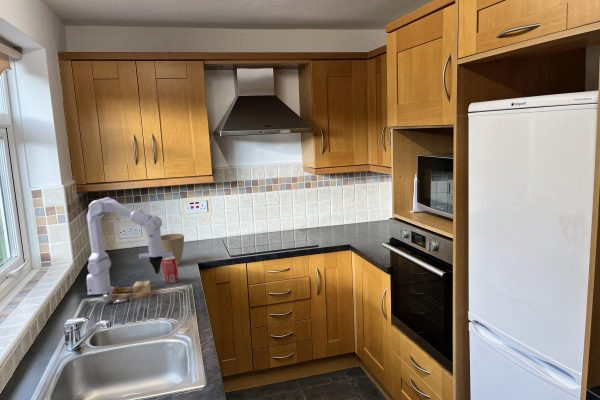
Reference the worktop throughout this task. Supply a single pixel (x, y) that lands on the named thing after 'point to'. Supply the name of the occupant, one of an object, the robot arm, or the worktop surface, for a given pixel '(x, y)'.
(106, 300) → the winch drum
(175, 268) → the soda can
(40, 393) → the worktop surface
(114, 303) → the crank handle
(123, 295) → the bay
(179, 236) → the plant pot
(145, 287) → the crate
